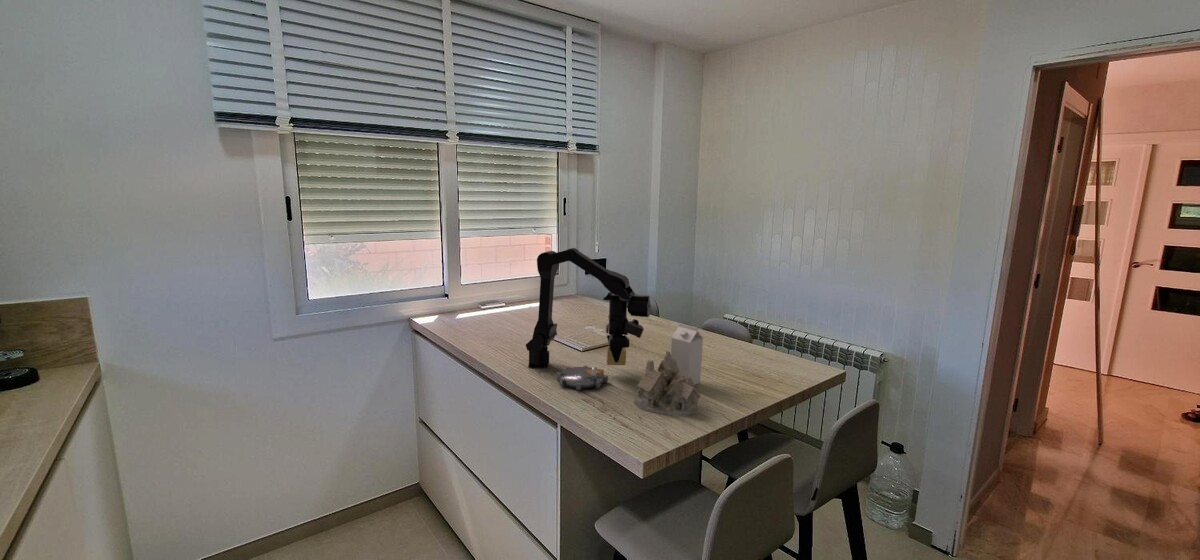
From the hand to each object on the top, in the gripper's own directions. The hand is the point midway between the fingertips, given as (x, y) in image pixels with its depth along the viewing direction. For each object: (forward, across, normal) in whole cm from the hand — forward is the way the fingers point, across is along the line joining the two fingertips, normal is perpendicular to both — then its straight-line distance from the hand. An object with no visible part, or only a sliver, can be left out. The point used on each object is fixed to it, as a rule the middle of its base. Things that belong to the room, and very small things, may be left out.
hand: (616, 360), depth 157 cm
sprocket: (+5, -6, +11) cm, 14 cm away
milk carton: (+5, -6, -22) cm, 23 cm away
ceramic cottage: (+6, -23, -12) cm, 27 cm away
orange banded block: (+1, 0, 0) cm, 1 cm away
